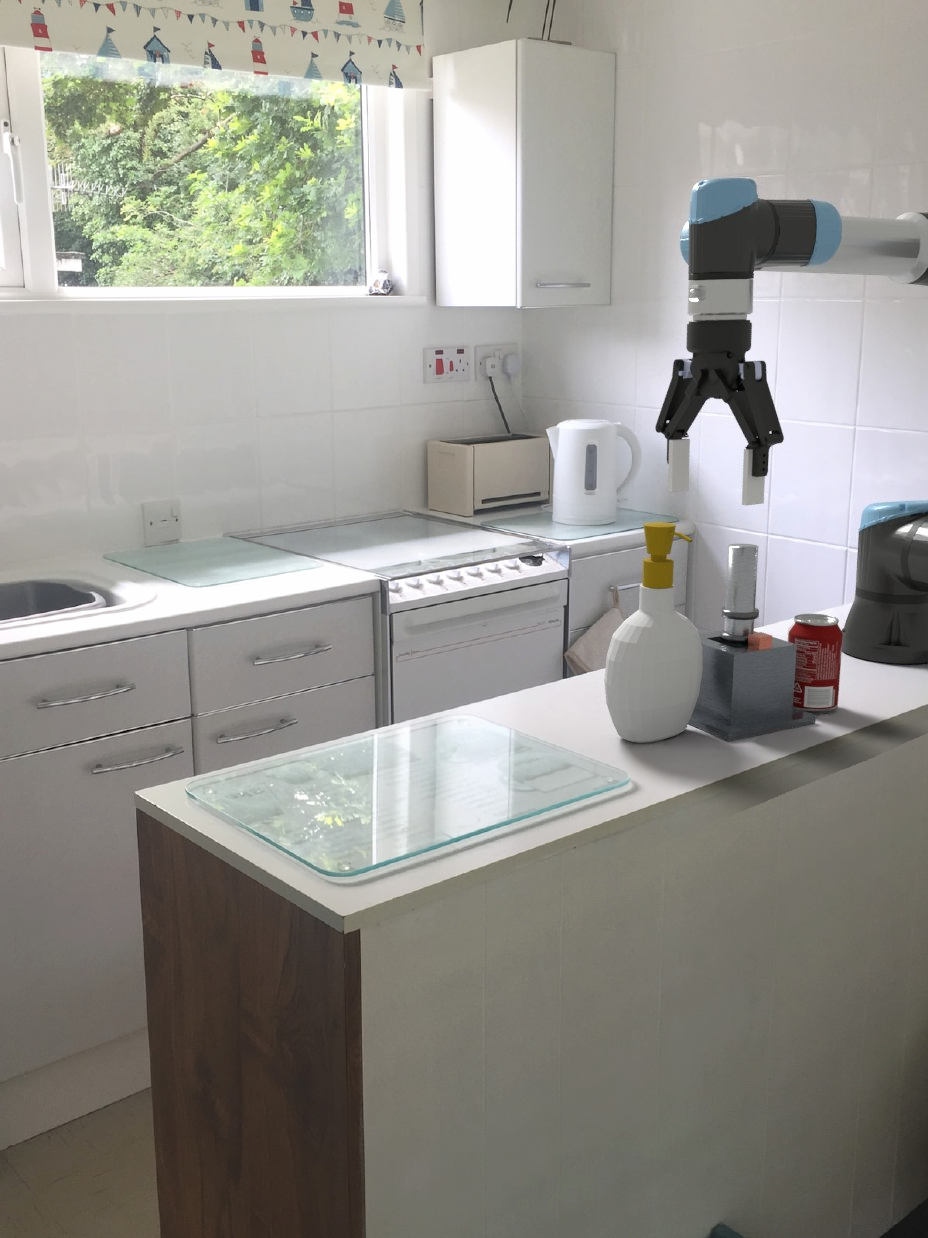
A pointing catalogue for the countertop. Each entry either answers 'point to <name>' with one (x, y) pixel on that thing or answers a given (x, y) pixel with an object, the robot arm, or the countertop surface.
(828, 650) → the soda can
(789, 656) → the sleeve
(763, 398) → the robot arm
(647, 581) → the soap bottle
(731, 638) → the column
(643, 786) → the countertop surface
